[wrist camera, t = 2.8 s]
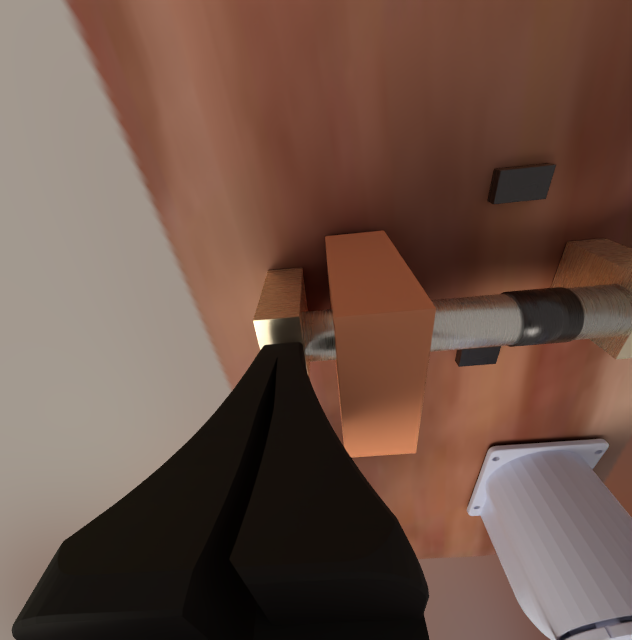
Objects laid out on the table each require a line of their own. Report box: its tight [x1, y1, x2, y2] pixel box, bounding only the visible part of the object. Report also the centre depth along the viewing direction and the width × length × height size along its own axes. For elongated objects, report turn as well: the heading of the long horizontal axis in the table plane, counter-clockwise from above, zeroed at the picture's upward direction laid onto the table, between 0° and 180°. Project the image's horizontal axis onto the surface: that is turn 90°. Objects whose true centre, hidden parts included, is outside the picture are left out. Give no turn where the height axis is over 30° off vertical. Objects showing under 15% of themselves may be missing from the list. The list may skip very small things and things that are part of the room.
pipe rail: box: [253, 163, 632, 376], centre depth 13 cm, size 15×10×4 cm, turn 96°
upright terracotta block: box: [325, 230, 436, 457], centre depth 12 cm, size 2×6×6 cm, turn 6°
